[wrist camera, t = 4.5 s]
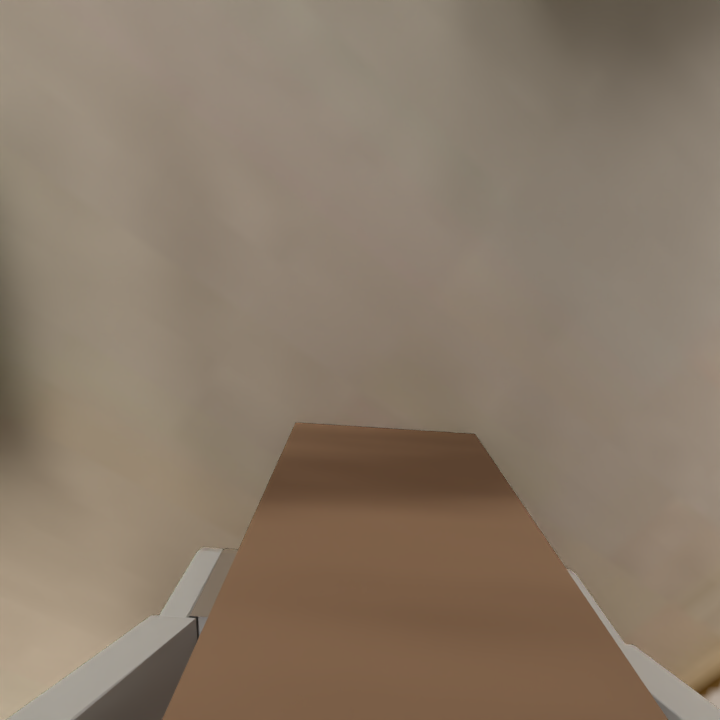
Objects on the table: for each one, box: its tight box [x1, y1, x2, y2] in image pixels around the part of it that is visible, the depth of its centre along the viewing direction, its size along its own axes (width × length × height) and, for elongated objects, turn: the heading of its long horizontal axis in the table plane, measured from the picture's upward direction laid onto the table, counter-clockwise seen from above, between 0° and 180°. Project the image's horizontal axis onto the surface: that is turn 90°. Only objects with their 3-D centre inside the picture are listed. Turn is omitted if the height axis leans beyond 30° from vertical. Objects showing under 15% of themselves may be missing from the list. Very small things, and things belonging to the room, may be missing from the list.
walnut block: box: [162, 423, 668, 720], centre depth 7 cm, size 5×5×7 cm
